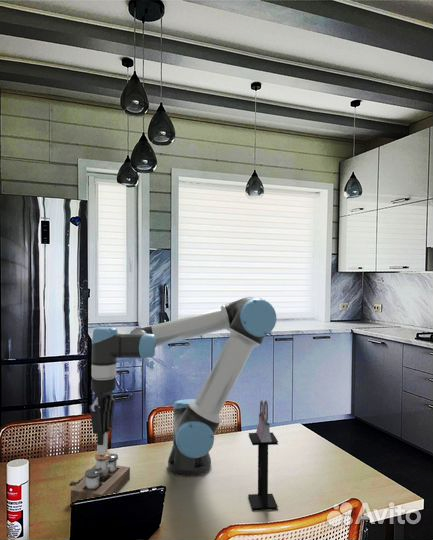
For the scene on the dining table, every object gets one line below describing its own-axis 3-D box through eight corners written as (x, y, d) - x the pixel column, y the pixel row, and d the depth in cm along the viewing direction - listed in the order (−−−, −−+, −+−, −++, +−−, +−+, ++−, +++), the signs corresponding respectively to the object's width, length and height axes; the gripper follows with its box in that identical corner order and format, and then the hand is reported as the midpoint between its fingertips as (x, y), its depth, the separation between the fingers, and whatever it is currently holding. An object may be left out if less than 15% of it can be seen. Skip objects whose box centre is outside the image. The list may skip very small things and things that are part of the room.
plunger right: (120, 478, 134) (120, 454, 134) (113, 485, 130) (113, 460, 130) (107, 476, 135) (108, 452, 135) (100, 483, 131) (101, 458, 131)
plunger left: (102, 495, 123) (103, 469, 123) (95, 503, 119) (95, 475, 119) (89, 493, 124) (90, 467, 125) (81, 501, 120) (82, 474, 120)
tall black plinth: (247, 494, 126) (248, 395, 127) (271, 493, 126) (271, 395, 127) (253, 513, 115) (254, 406, 116) (279, 512, 116) (279, 405, 117)
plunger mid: (112, 477, 129) (112, 452, 129) (104, 484, 124) (105, 458, 125) (99, 476, 130) (99, 451, 130) (91, 482, 125) (92, 456, 126)
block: (129, 479, 134) (129, 467, 135) (101, 509, 117) (101, 494, 117) (102, 475, 137) (102, 463, 137) (70, 504, 119) (70, 490, 120)
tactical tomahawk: (87, 491, 129) (87, 487, 129) (68, 486, 130) (69, 483, 130) (119, 461, 149) (119, 458, 149) (103, 458, 151) (103, 455, 151)
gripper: (103, 372, 135) (101, 444, 134) (81, 381, 122) (79, 461, 122) (124, 373, 133) (122, 447, 133) (104, 383, 121) (102, 464, 120)
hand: (102, 453), depth 127 cm, fingers closed
